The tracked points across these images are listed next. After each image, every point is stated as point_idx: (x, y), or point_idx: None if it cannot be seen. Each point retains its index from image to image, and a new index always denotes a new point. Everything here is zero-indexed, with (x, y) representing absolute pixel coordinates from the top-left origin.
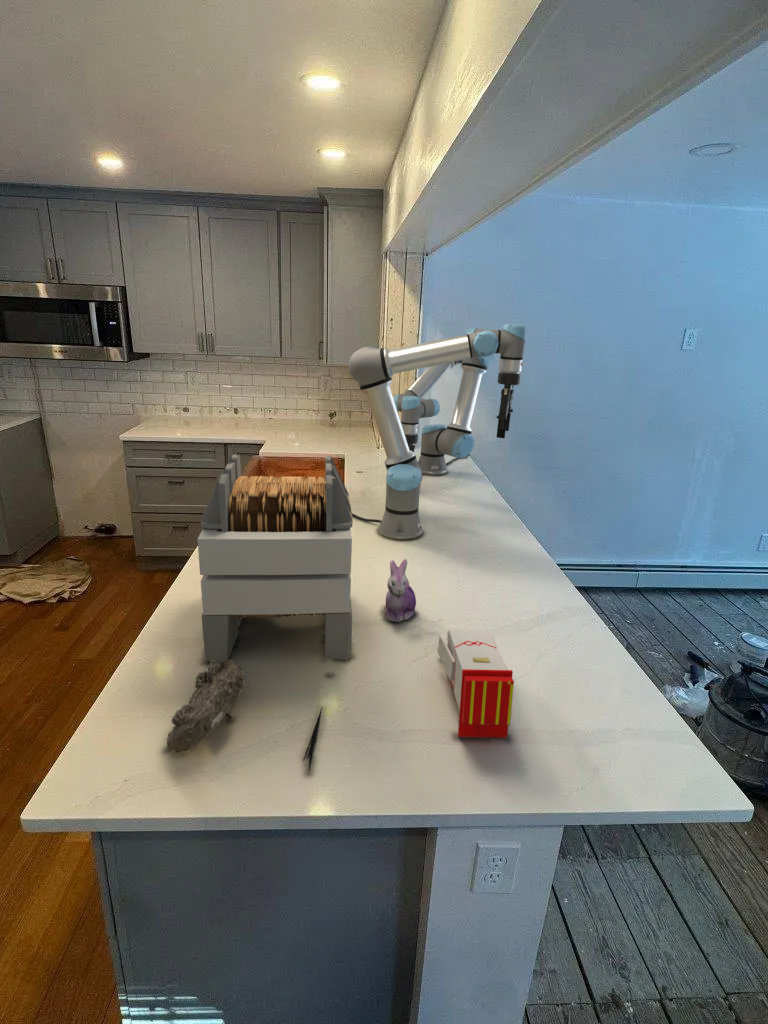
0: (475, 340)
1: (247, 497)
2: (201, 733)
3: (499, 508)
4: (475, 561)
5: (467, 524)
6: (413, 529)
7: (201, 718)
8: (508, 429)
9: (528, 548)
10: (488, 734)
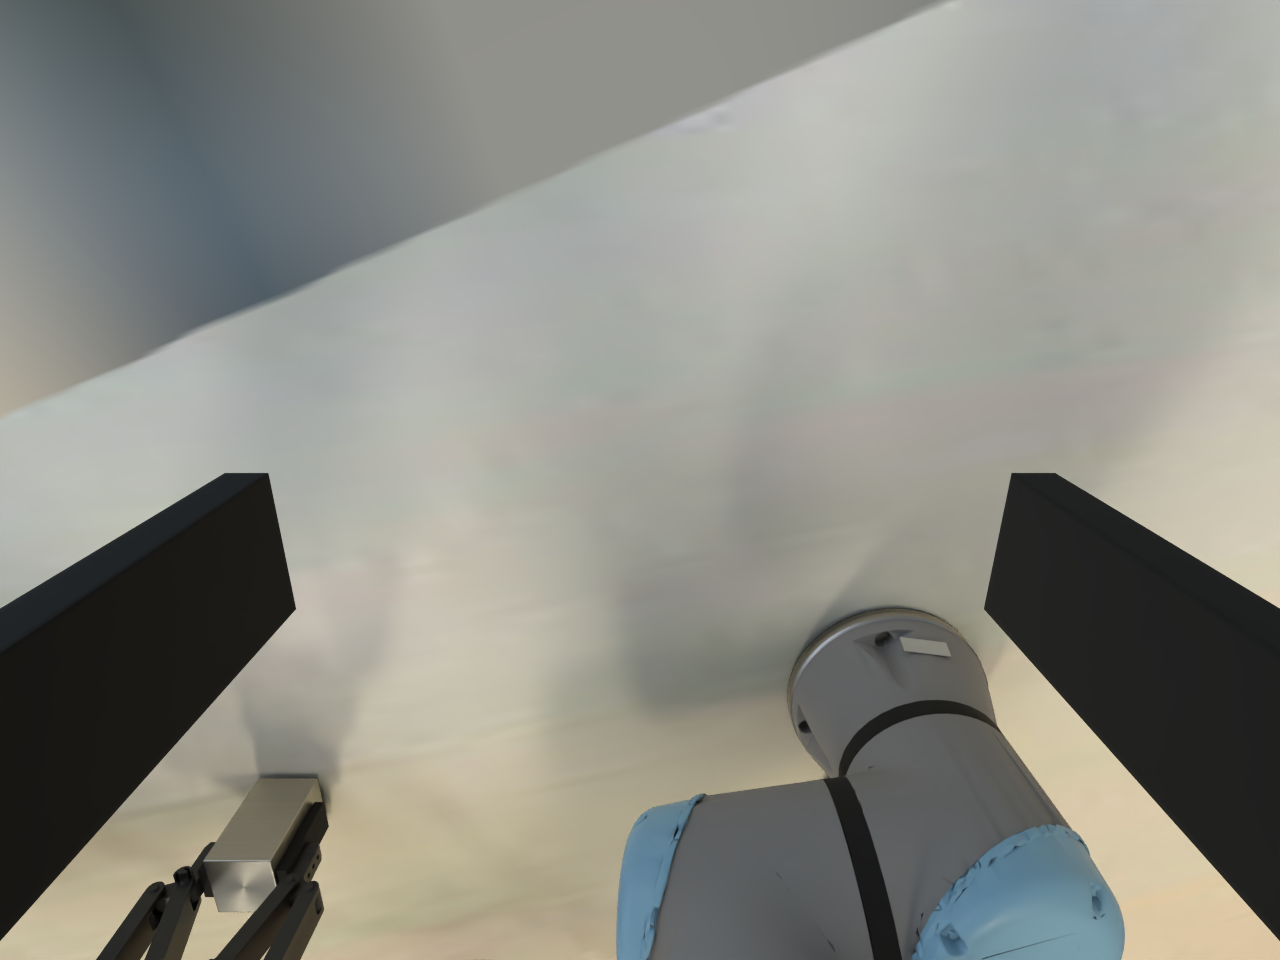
0: None
1: None
2: None
3: (306, 305)
4: (1150, 326)
5: (665, 440)
6: (964, 655)
7: None
8: (251, 486)
9: (917, 59)
10: None
